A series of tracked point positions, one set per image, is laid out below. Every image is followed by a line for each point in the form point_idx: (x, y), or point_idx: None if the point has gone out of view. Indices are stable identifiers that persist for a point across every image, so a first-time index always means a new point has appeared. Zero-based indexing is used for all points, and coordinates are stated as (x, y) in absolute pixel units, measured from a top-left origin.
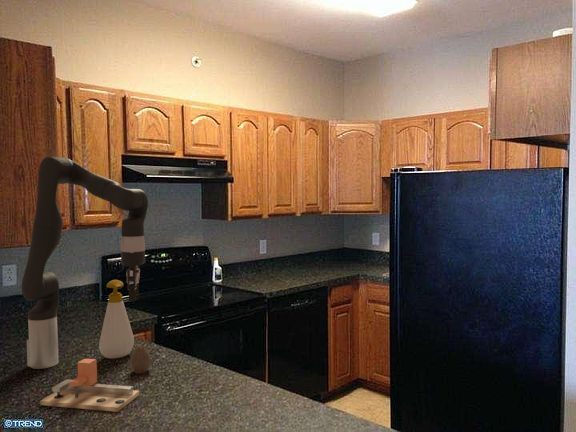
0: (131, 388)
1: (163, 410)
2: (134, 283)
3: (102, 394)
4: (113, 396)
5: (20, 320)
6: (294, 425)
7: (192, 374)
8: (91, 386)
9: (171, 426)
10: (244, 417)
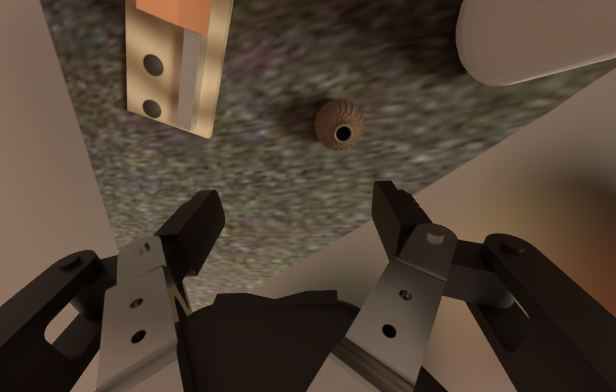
0: (185, 128)
1: (152, 182)
2: (59, 343)
3: None
4: (176, 89)
5: None
6: None
7: (299, 214)
8: None
9: (104, 196)
10: None
